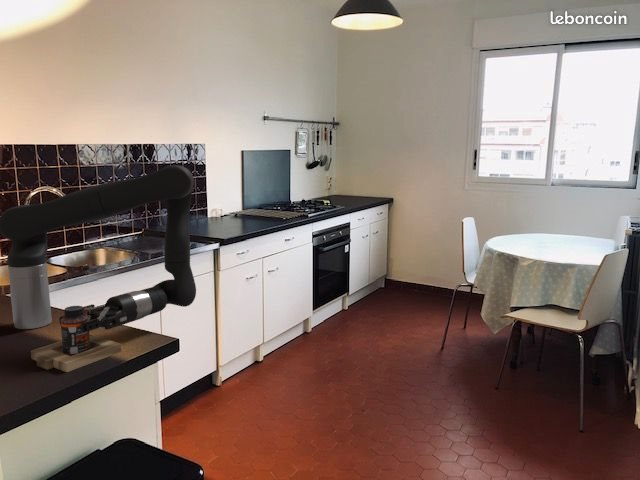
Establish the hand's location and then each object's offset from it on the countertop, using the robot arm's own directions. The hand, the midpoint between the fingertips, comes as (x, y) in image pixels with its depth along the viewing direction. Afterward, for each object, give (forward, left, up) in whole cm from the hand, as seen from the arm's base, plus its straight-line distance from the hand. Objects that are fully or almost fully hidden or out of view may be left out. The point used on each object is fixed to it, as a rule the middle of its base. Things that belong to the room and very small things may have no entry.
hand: (70, 324), depth 122 cm
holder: (0, +1, -8) cm, 8 cm away
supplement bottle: (0, +1, -8) cm, 8 cm away
